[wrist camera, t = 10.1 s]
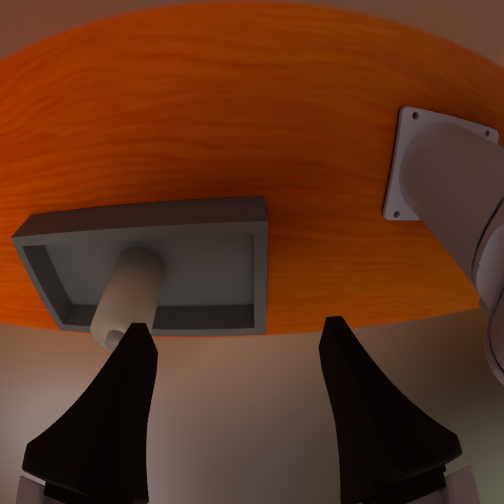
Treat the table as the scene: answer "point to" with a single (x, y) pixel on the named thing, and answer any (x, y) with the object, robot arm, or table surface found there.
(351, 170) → the table surface
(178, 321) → the trough
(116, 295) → the cell
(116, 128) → the table surface
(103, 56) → the table surface
